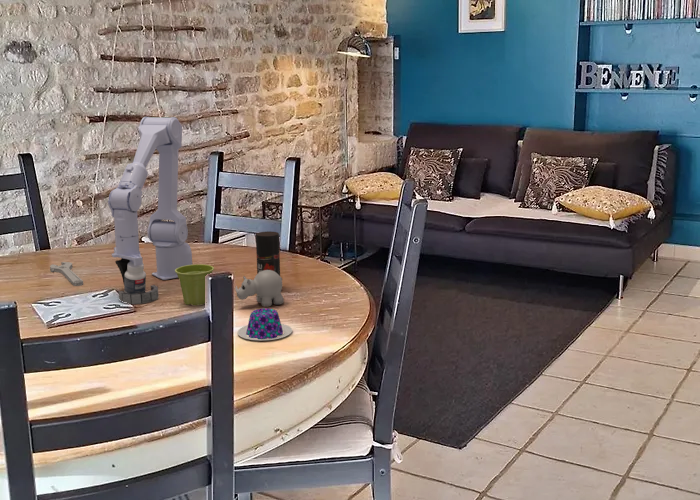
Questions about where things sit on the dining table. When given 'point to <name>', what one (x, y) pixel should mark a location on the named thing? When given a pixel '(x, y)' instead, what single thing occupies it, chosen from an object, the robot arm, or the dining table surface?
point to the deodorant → (268, 251)
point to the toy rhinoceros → (262, 288)
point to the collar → (140, 296)
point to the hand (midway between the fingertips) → (129, 287)
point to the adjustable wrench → (67, 273)
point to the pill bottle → (134, 279)
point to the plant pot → (193, 282)
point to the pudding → (264, 326)
